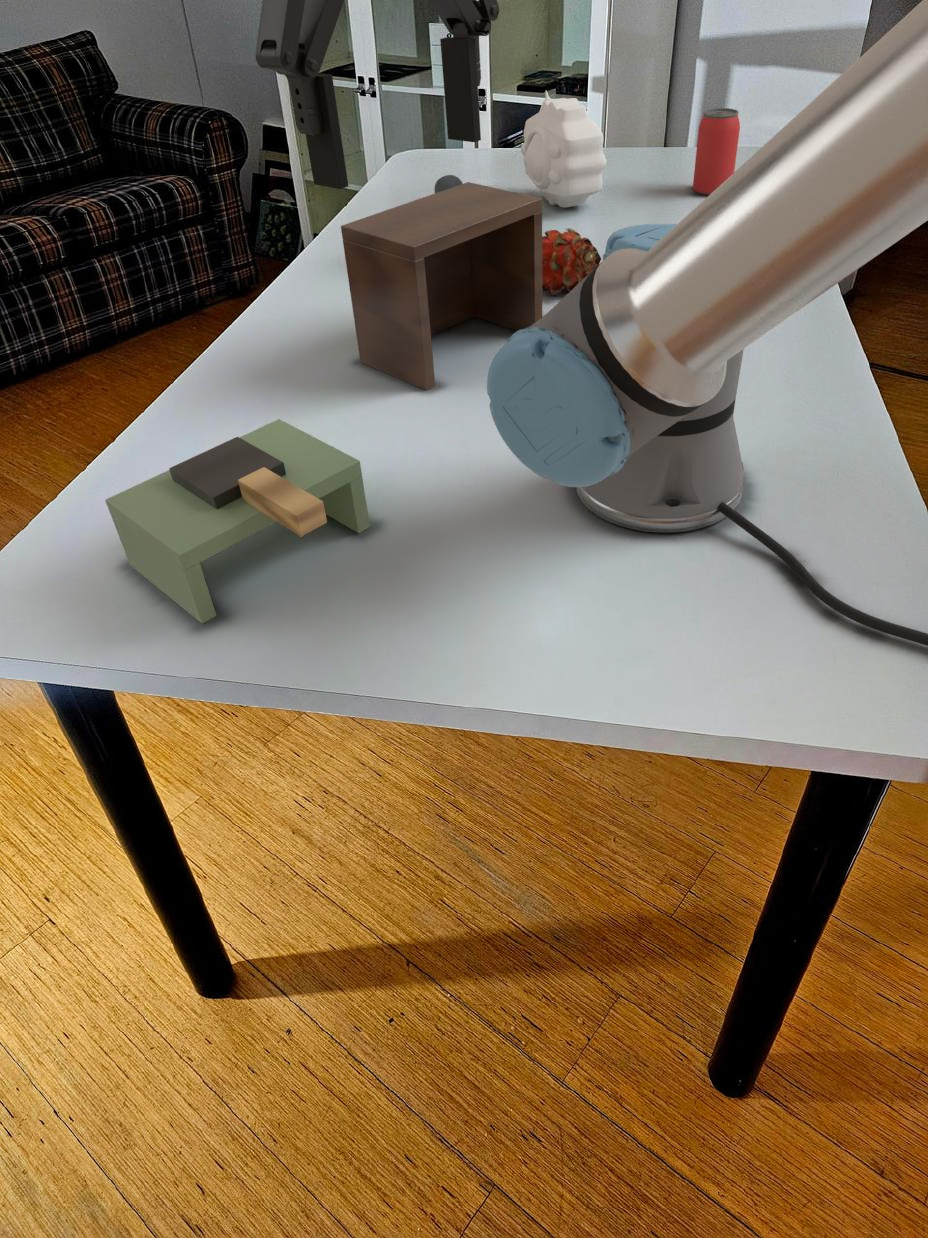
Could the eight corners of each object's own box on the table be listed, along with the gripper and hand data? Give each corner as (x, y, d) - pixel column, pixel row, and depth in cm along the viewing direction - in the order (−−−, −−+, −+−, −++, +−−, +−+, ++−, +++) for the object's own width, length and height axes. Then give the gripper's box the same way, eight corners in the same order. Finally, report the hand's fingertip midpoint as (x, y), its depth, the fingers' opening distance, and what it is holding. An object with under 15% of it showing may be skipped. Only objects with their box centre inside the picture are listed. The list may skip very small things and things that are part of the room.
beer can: (685, 188, 154) (692, 110, 146) (719, 183, 155) (728, 105, 147) (704, 198, 149) (713, 118, 141) (739, 192, 150) (749, 112, 142)
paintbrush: (518, 220, 146) (517, 187, 143) (494, 227, 144) (493, 195, 141) (445, 197, 158) (443, 167, 155) (423, 204, 156) (420, 173, 153)
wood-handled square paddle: (349, 510, 71) (345, 489, 70) (277, 550, 67) (272, 528, 66) (240, 448, 80) (235, 428, 78) (172, 480, 76) (166, 459, 75)
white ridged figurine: (566, 185, 159) (567, 83, 149) (613, 212, 146) (618, 102, 136) (509, 196, 157) (507, 92, 146) (553, 223, 144) (553, 112, 133)
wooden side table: (542, 332, 112) (542, 197, 101) (426, 390, 101) (413, 246, 91) (474, 310, 118) (468, 181, 108) (360, 362, 108) (340, 225, 98)
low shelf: (370, 527, 81) (360, 460, 77) (202, 624, 72) (179, 555, 68) (292, 482, 88) (278, 418, 84) (130, 565, 79) (104, 499, 74)
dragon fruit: (605, 303, 121) (520, 314, 125) (606, 249, 123) (522, 261, 127) (597, 266, 113) (506, 279, 117) (597, 208, 115) (507, 222, 119)
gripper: (455, -240, 59) (476, 119, 73) (129, -241, 46) (230, 200, 59) (544, -257, 55) (549, 127, 68) (215, -263, 41) (302, 215, 55)
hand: (401, 161), depth 64 cm, fingers open, 13 cm apart
